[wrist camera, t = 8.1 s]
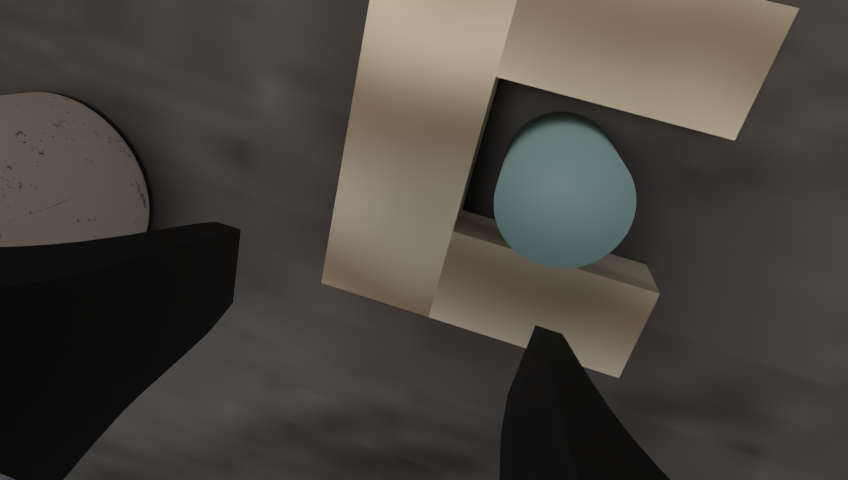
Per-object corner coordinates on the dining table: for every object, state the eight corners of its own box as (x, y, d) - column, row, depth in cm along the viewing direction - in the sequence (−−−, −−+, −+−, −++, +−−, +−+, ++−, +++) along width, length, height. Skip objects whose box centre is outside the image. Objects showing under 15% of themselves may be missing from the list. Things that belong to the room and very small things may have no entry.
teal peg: (591, 228, 20) (605, 285, 16) (491, 199, 21) (477, 246, 16) (630, 128, 19) (660, 159, 14) (522, 99, 19) (516, 119, 14)
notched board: (610, 342, 22) (618, 377, 19) (343, 258, 23) (321, 282, 21) (763, 11, 16) (799, 8, 14) (405, -75, 18) (384, -91, 15)
